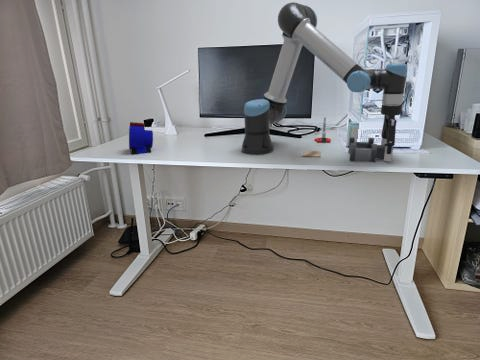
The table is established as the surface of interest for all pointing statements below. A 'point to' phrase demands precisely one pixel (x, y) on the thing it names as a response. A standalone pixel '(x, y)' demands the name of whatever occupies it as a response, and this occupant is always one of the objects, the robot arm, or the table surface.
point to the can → (352, 131)
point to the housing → (362, 150)
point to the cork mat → (311, 154)
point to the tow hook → (323, 135)
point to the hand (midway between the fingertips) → (385, 157)
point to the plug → (380, 152)
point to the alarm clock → (140, 138)
